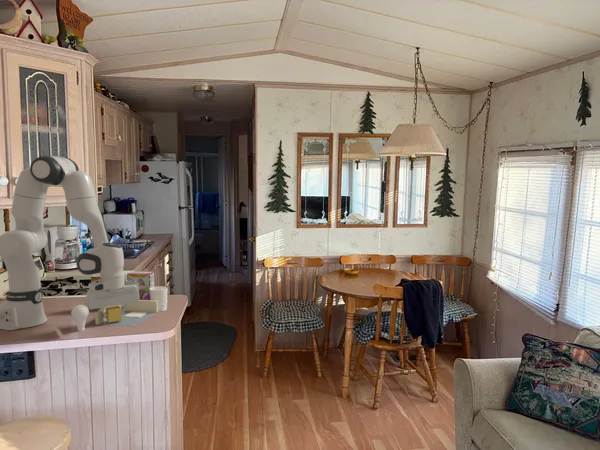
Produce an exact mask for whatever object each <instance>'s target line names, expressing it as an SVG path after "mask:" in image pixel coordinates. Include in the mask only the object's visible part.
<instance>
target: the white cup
mask: <svg viewBox="0 0 600 450" xmlns="http://www.w3.org/2000/svg"><path fill="white" fill-rule="evenodd" d="M168 290H169V289H168V287H167V286H164V285H162V286H155V287H152V288H150V289H149V292H150V300H154V301H158V311H160V312H161V311H162V312H165V311H167V309H168Z"/></svg>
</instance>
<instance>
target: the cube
mask: <svg viewBox="0 0 600 450" xmlns="http://www.w3.org/2000/svg"><path fill="white" fill-rule="evenodd" d="M105 309H106V312H107V313H108V315H107V316H108V317H107V318H106V320H107V321H108V322H115V321H121V320H122V311H121V308H120V307H119V306H112V307H105Z"/></svg>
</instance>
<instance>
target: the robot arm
mask: <svg viewBox="0 0 600 450" xmlns="http://www.w3.org/2000/svg"><path fill="white" fill-rule="evenodd" d="M58 185H59V186H60V187H61V188H62V189H63V191H64V196H65V203H66V204H65V205H66V208H67V211H68V213H69V216H70V217H71V218H73V219H74V220H76V221H78V222H80V223H82V224H84V225H85V226H87V228H88V230H89V231H90V234H91V238H92V242H93V246H94V247H93V249H90V250H87V251H84V252H82V253H80V254H78V256H77V258H76V264H75V265H76V268H77V270H78V272H80V273H81V274H82V275H85V276H91V275H92V276H94V275H97V274H98V275H99V274H100V275H101V279H98V280H96V281H94V282H89V283H88V289H89V290H87V292H86V296H85V306H87V307H88V309H89V310H96V309H95V308H100V309H99V310H101V311H102V313H103V318H107V317H108V316H107V315H108V313H107V312H104V311H103V310H105V307H109V306H116V305H122V306H123V308H122V310H121V311H122V315H124V311H125V309H126V307H127V304H130V303H137V302H138V301H139V291H138V289H139V283H138V282H137V281H135V280H133V281H127V280H125V272H124V266H125V258H124V257H125V256H124V250H123V247H122V245H120V244H119V243H115V242H111V241H110V239H109V234H108V230H107V226H106V223H105V220H104V217H103V215H102V213H101V210H100V209H99V205H98V199H97V194H96V189H95V186H94V183H93V180H92V178H91V176H90V174H89V173H88V172H86V171H82V170H80V168H79V166H78V164H77V163H76V162H75V161H74V160H73V159H71V158H69V157H63V156H60V155H51V156H50V155H42V156H38V157H36V158H35V159H34V160H32V161H31V163H30V166H29V168H24V169H23V170H21V172H20V173H19V176H18V179H17V181H16V184H15V188H14V194H13V198H12V199H13V200H12V203H11V204H12V205H11V210H10V211H11V212H10V213H11V214H12V216H13V218H14V222H15V223H14V224H15V228H14V230H9V231H6V232H4V233H2V234H1V235H0V257H1V259H2V261H3V263H4V266H5V268H6V271H7V278H8V288H9V289H8V291H6V292H3V297H5V300H4V301H2V302H1V303H0V330H6V331H14V330H19V329H25V328H31V327H36V326H39V325H42V324H44V323H46V322H47V321H48V318H47V315H46V312H45V308H44V304H43V296H44V295H43V287H42V286H41V284H42V283H41V270H40V268H39V267H38V266H37V265H36V264H35V261H34V257H33V254H35V253H38V252H40V251H41V250H42V249H43V248H45V247H46V246H47V243H48V235H47V234H46V231H45V229H44V227H45V226H44V212H45V207H46V206H45V205H46V199H47V193H48V189H49V187H50V186H58ZM135 282H137V283H135Z"/></svg>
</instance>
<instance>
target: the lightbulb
mask: <svg viewBox="0 0 600 450" xmlns="http://www.w3.org/2000/svg"><path fill="white" fill-rule="evenodd" d="M89 310H90V309H88V307H87V306H86V304H76V305H74V306H73V307H72V309H71V311H70V313H71V317H72V319H73V320H74V321H75V326H76V329H77V332H83V331H85V330H86V329H85V328H86V321H87V319H88V316H89V314H90V311H89Z"/></svg>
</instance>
